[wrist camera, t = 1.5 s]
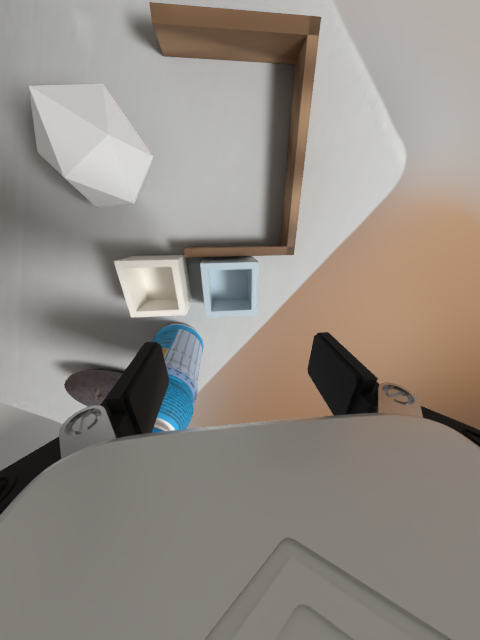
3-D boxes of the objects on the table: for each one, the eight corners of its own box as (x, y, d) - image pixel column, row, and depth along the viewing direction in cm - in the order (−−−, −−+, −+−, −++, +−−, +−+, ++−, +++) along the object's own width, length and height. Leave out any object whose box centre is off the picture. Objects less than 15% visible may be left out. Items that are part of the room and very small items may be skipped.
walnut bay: (161, 39, 17) (149, 2, 14) (305, 49, 18) (320, 16, 15) (188, 254, 25) (185, 257, 22) (286, 252, 26) (293, 254, 23)
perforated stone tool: (78, 375, 32) (44, 409, 26) (83, 353, 30) (48, 385, 24) (161, 397, 36) (149, 431, 30) (170, 379, 35) (159, 411, 28)
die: (173, 155, 21) (82, 9, 12) (163, 226, 20) (58, 131, 11) (118, 165, 23) (4, 49, 14) (107, 229, 22) (-20, 153, 13)
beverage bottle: (211, 330, 31) (196, 467, 13) (196, 367, 34) (168, 518, 16) (160, 314, 29) (58, 452, 11) (149, 355, 32) (57, 514, 14)
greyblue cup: (203, 258, 25) (200, 263, 21) (252, 256, 26) (258, 261, 21) (208, 304, 28) (205, 317, 24) (251, 302, 29) (257, 314, 25)
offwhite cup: (133, 255, 24) (113, 261, 20) (185, 254, 25) (177, 259, 21) (145, 303, 28) (131, 317, 23) (191, 301, 28) (186, 315, 24)
